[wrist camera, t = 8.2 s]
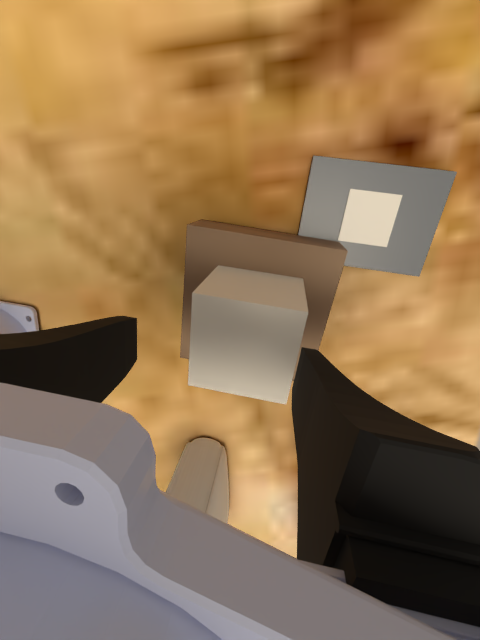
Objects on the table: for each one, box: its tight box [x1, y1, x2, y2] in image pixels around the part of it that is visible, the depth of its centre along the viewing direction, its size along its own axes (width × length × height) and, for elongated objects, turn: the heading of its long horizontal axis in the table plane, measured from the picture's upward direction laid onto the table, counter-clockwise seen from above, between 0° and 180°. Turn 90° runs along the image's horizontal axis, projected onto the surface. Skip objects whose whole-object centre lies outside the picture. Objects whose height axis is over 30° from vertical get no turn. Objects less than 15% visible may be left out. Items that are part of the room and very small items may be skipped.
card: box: [298, 156, 457, 276], centre depth 18 cm, size 6×8×1 cm
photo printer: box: [166, 438, 229, 523], centre depth 22 cm, size 10×4×12 cm, turn 1°
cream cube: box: [188, 265, 308, 404], centre depth 15 cm, size 5×5×5 cm
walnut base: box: [180, 220, 348, 381], centre depth 19 cm, size 9×9×3 cm
